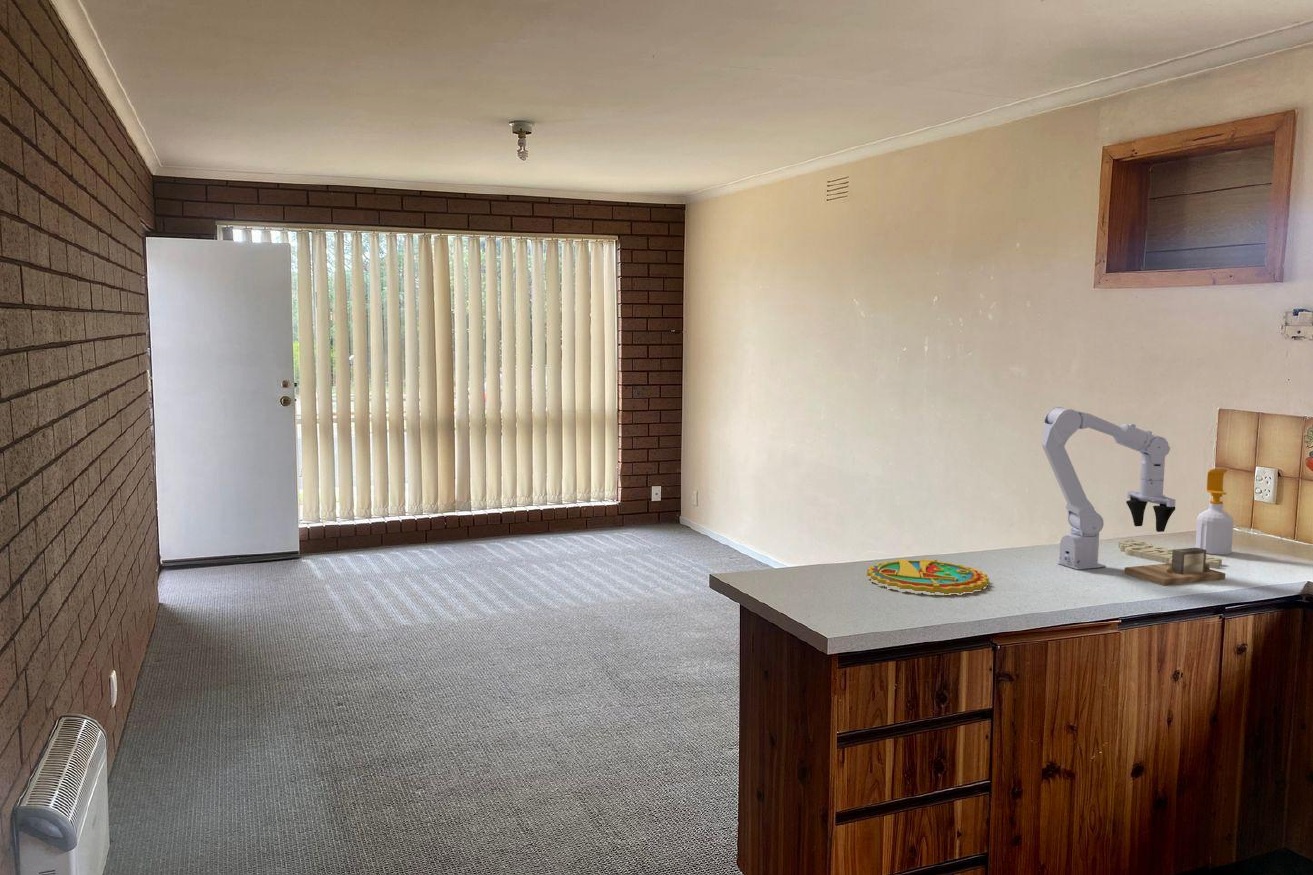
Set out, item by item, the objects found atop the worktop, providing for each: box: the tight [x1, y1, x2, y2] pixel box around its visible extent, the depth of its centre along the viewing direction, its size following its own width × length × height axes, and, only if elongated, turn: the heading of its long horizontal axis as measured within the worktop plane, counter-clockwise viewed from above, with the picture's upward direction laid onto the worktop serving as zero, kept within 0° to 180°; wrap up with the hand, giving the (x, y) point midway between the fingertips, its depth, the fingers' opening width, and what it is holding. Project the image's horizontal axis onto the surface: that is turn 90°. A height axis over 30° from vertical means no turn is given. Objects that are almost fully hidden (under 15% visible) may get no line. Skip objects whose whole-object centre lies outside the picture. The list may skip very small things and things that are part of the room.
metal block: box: [1172, 547, 1207, 574], centre depth 248 cm, size 8×3×7 cm, turn 107°
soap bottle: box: [1194, 468, 1234, 556], centre depth 276 cm, size 9×9×25 cm
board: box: [1123, 563, 1226, 586], centre depth 249 cm, size 20×13×3 cm, turn 107°
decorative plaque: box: [866, 558, 990, 594], centre depth 245 cm, size 30×3×30 cm
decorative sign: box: [1118, 538, 1223, 569], centre depth 271 cm, size 31×2×15 cm
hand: (1149, 528), depth 259 cm, fingers open, 7 cm apart
